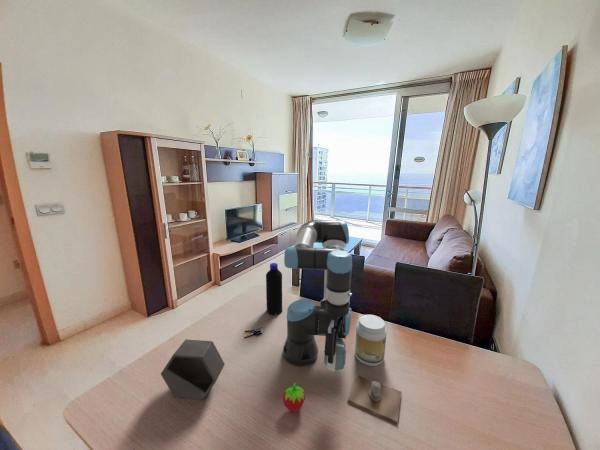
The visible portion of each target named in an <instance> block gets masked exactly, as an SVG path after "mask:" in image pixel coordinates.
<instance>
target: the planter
mask: <svg viewBox="0 0 600 450" xmlns="http://www.w3.org/2000/svg"><path fill="white" fill-rule="evenodd" d="M224 367H225V362H224V360H223V358H222V356H221V355H220V352H219V351H218V350H217V347H216V345H215V344H214V341H211V340H199V339H197V340H196V339H184V340H183V342H181V345H180V346H179V347H178V348H177V349H176V351H175V352H174V353H173V355H171V358H170V359H169V361H168V362H167V363H166V365H165V367H164V368H163V370H162V371H161V372H160V376H161V377H162V379H163V380H164V382H165V384H166V386H167V387H168V389H169V391H170V392H171V394H172V395H173V397H174V398H175V397H178V398H177V399H186V400H198V401H203V400H204V398H206V397H207V395H208V393H209V392H210V390H211V389H212V388H213V387H214V385H215V384H216V383H217V381H218V379H219V376H220V375H221V372H222V370H223V368H224Z"/></svg>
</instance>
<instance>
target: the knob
mask: <svg viewBox="0 0 600 450" xmlns="http://www.w3.org/2000/svg"><path fill="white" fill-rule="evenodd" d="M335 353H336V365H335V371H336V372H337V371H340V370H343V369H344V367H345V365H346V358H347V355H346V354H347V347H346V342H345V341H344V339H343V340H341V339H339V338H337V342H336V349H335ZM323 355H324V354H323ZM323 358H324V359H323V363H324V364H325V366H326V367H327V356H326V355H324V356H323Z"/></svg>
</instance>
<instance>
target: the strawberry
mask: <svg viewBox="0 0 600 450" xmlns="http://www.w3.org/2000/svg"><path fill="white" fill-rule="evenodd" d="M282 400H283V404H284V406H285V408H286V409H287V411H288V412H291V413H298V412H299V411H300V410H301V409H302V407H303V405H304V402H305V400H306V394H305V390H304V389H303V388H302V387H301V386H299V385H296V382H294V383H293V384H292V387H288V388H286V390H285V391H284V393H283V395H282Z"/></svg>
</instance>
